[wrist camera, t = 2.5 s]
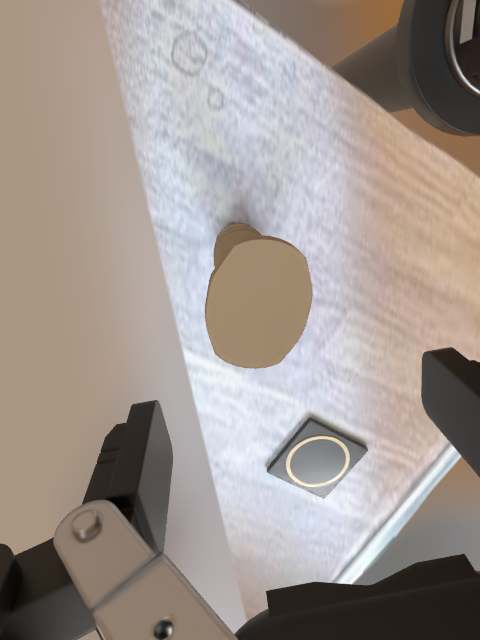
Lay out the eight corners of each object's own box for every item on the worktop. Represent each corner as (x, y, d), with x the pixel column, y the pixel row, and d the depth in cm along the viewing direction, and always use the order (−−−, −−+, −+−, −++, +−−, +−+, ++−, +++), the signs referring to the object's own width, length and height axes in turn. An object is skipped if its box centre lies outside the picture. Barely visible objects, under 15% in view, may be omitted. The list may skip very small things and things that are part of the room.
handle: (201, 274, 34) (197, 361, 20) (213, 195, 31) (218, 230, 17) (258, 283, 34) (293, 373, 20) (274, 206, 32) (326, 249, 18)
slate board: (309, 417, 40) (311, 421, 39) (366, 447, 42) (369, 451, 41) (266, 469, 42) (267, 473, 42) (322, 495, 44) (324, 499, 44)
